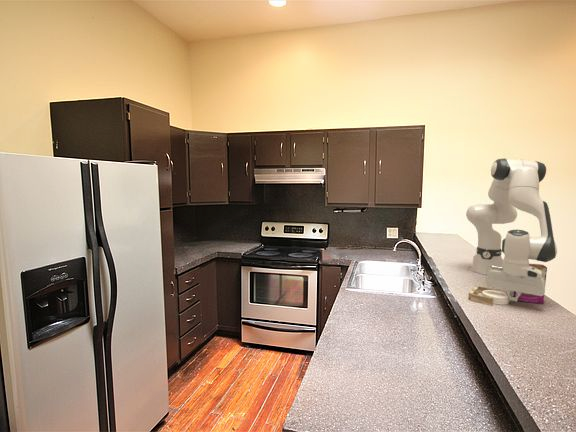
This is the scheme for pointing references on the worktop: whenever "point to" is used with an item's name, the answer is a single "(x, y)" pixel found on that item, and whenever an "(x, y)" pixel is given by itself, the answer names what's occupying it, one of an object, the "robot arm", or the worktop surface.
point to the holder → (480, 298)
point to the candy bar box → (529, 297)
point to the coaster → (497, 296)
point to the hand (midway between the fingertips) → (513, 300)
